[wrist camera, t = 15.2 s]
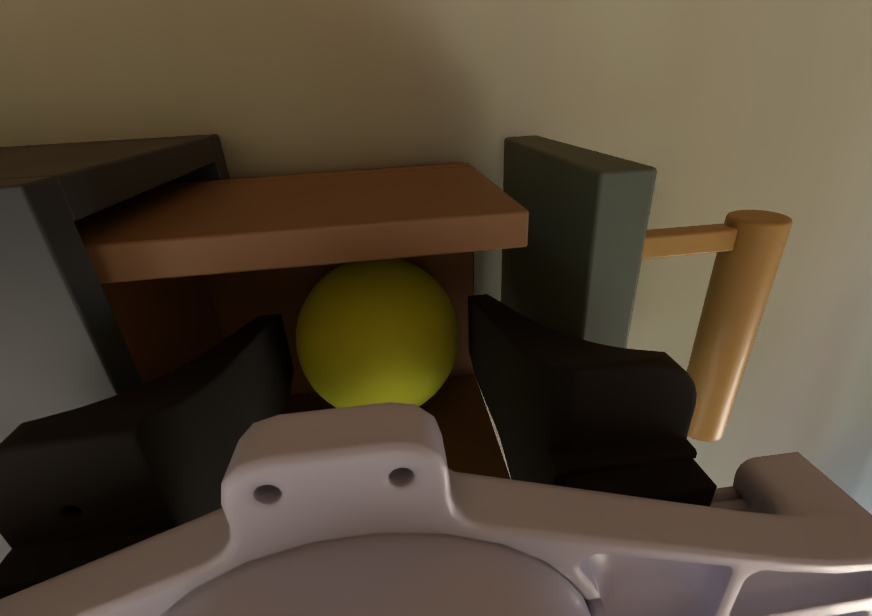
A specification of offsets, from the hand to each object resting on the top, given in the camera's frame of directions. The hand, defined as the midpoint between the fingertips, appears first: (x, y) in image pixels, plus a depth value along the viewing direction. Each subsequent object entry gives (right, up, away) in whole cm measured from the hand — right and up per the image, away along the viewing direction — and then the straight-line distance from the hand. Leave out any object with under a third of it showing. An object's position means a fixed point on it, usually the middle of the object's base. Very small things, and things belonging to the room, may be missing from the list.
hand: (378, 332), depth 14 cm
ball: (0, +1, +2) cm, 2 cm away
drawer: (+2, +2, +3) cm, 4 cm away
